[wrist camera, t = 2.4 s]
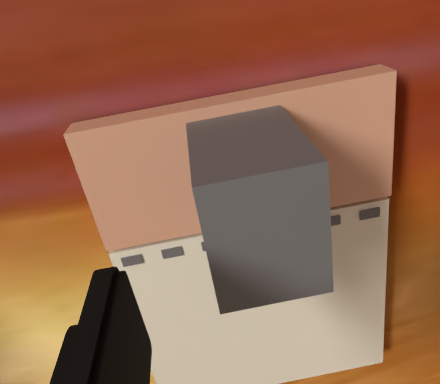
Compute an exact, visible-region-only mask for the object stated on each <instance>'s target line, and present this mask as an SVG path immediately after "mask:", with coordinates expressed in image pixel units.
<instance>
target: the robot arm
mask: <svg viewBox="0 0 440 384" xmlns="http://www.w3.org/2000/svg"><path fill="white" fill-rule="evenodd" d="M151 358H152V347H151V341H150V338H149V335H148V332H147V329H146V326H145V323H144V321H143V318H142V315H141V312H140V309H139V306H138V304H137V301H136V298H135V295H134V292H133V289H132V287H131V284H130V281H129V278H128V275H127V273H126V271H119V269H118V268H117V267H110V268H105V269H99V270H95V271H94V273H93V275H92V279H91V282H90V285H89V289H88V292H87V296H86V299H85V302H84V306H83V309H82V312H81V316H80V319H79V323H78V325H73V326H70V327H69V328H68V330H67V332H66V334H65V337H64V341H63V344H62V347H61V350H60V353H59V356H58V359H57V362H56V365H55V369H54V372H53V375H52V378H51V381H50V384H149V383H150V371H151Z"/></svg>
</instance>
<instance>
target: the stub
mask: <svg viewBox="0 0 440 384" xmlns="http://www.w3.org/2000/svg"><path fill="white" fill-rule="evenodd" d="M396 76H397V71H396V70H394V69H391V68H389V67H386V66H384V65H381V64H379V65H373V66H368V67H363V68H358V69H352V70H347V71H342V72H337V73H332V74H326V75H321V76H316V77H311V78H305V79H300V80H295V81H290V82H285V83H279V84H274V85H269V86H264V87H258V88H253V89H248V90H243V91H238V92H232V93H227V94H222V95H217V96H211V97H206V98H201V99H196V100H191V101H185V102H180V103H175V104H170V105H164V106H159V107H154V108H149V109H144V110H138V111H133V112H128V113H123V114H117V115H112V116H107V117H102V118H97V119H91V120H86V121H81V122H76V123H71V125H70V126H69V127H68V129H67V130H66V132H65V133H64V134H63V135H64V138H65V141H66V143H67V146H68V149H69V151H70V154H71V157H72V160H73V162H74V165H75V168H76V170H77V173H78V176H79V179H80V181H81V184H82V187H83V189H84V192H85V195H86V198H87V200H88V203H89V206H90V208H91V211H92V214H93V217H94V219H95V222H96V225H97V227H98V230H99V233H100V236H101V238H102V241H103V244H104V247H105V249H106V252H107V251H112V250H117V249H123V248H128V247H133V246H138V245H143V244H148V243H153V242H158V241H163V240H168V239H173V238H179V237H184V236H189V235H194V234H199V233H202V236H203V240H204V245H205V249H206V254H207V258H208V263H209V267H210V272H211V276H212V281H213V285H214V290H215V294H216V298H217V303H218V307H219V312H220V314H225V313H230V312H235V311H240V310H245V309H250V308H255V307H260V306H265V305H270V304H275V303H280V302H285V301H290V300H296V299H301V298H306V297H311V296H316V295H321V294H326V293H331V292H334V288H333V263H332V239H331V214H330V208H331V207H336V206H341V205H346V204H352V203H357V202H362V201H367V200H372V199H377V198H382V197H387V196H391V194H392V171H393V147H394V124H395V100H396Z"/></svg>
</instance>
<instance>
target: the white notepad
mask: <svg viewBox="0 0 440 384" xmlns="http://www.w3.org/2000/svg"><path fill="white" fill-rule="evenodd" d="M330 214H331V239H332V263H333V288H334V292H331V293H326V294H321V295H316V296H311V297H306V298H301V299H296V300H290V301H285V302H280V303H275V304H270V305H265V306H260V307H255V308H250V309H245V310H240V311H235V312H230V313H225V314H220V312H219V307H218V303H217V298H216V294H215V290H214V285H213V281H212V276H211V272H210V267H209V263H208V258H207V254H206V249H205V245H204V240H203V236H202V233H199V234H194V235H189V236H184V237H179V238H173V239H168V240H163V241H158V242H153V243H148V244H143V245H138V246H133V247H128V248H123V249H117V250H112V251H109V256H110V259H111V262H112V264H113V267H117V268H118V269H119V271H126V273H127V275H128V278H129V281H130V284H131V287H132V289H133V292H134V295H135V298H136V301H137V304H138V306H139V309H140V312H141V315H142V318H143V321H144V323H145V326H146V329H147V332H148V335H149V338H150V341H151V347H152V358H151V371H152V374H153V376H154V379H155V382H156V384H279V383H284V382H289V381H294V380H299V379H304V378H309V377H314V376H319V375H323V374H328V373H333V372H338V371H343V370H348V369H353V368H358V367H363V366H368V365H373V364H378V363H383V344H384V319H385V294H386V269H387V244H388V218H389V198H388V197H382V198H377V199H372V200H367V201H362V202H357V203H352V204H346V205H341V206H336V207H331V208H330Z"/></svg>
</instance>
